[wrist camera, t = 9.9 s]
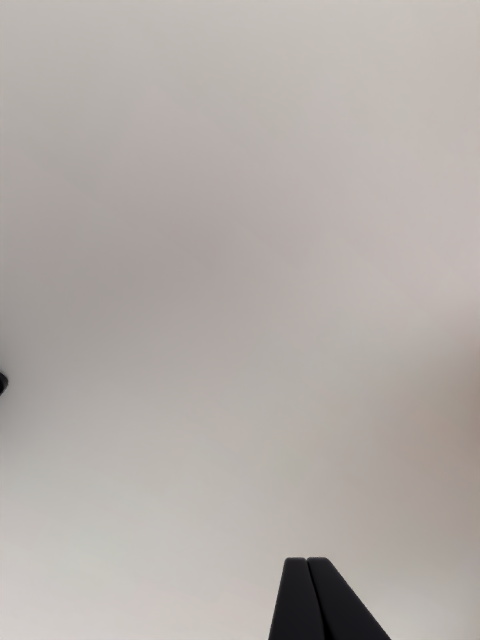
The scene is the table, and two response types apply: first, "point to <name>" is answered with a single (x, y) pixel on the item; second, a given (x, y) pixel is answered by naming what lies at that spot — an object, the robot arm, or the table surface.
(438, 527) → the table surface
